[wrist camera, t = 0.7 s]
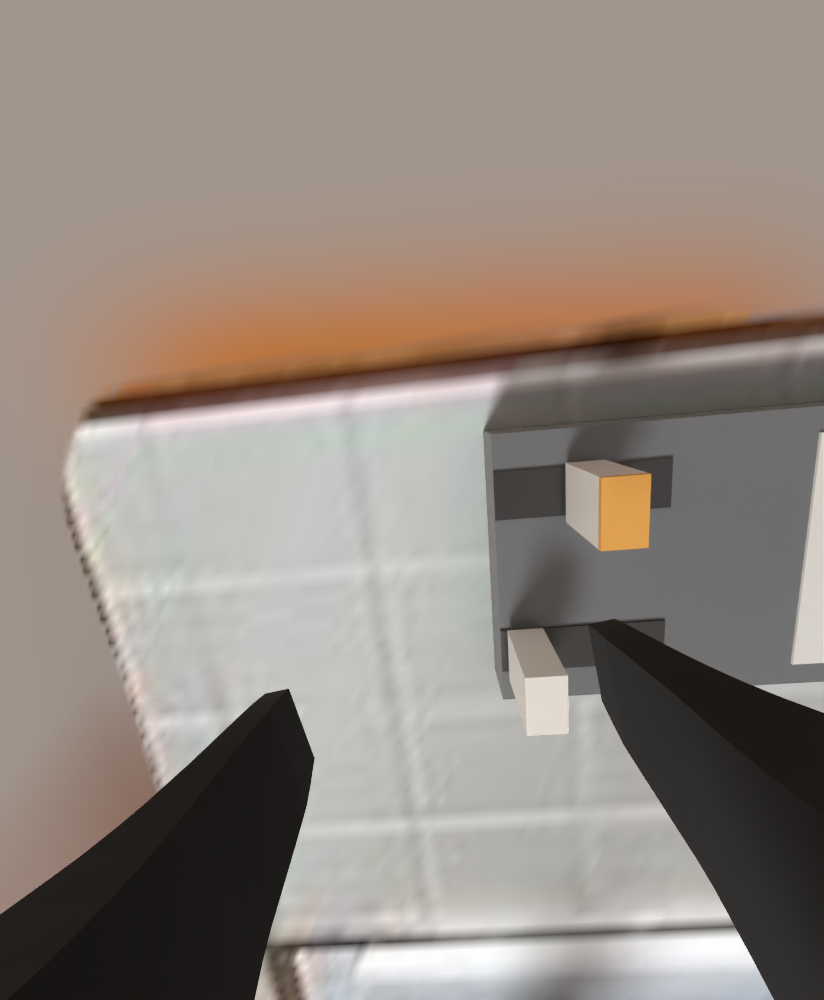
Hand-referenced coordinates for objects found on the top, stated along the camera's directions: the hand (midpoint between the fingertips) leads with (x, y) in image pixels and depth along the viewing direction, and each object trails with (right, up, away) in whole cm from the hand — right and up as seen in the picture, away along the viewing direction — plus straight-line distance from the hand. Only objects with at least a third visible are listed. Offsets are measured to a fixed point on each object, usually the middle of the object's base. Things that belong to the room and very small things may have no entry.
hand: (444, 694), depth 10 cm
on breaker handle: (+4, -2, +8) cm, 10 cm away
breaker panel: (+11, +2, +10) cm, 15 cm away
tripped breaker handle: (+6, +5, +7) cm, 10 cm away
